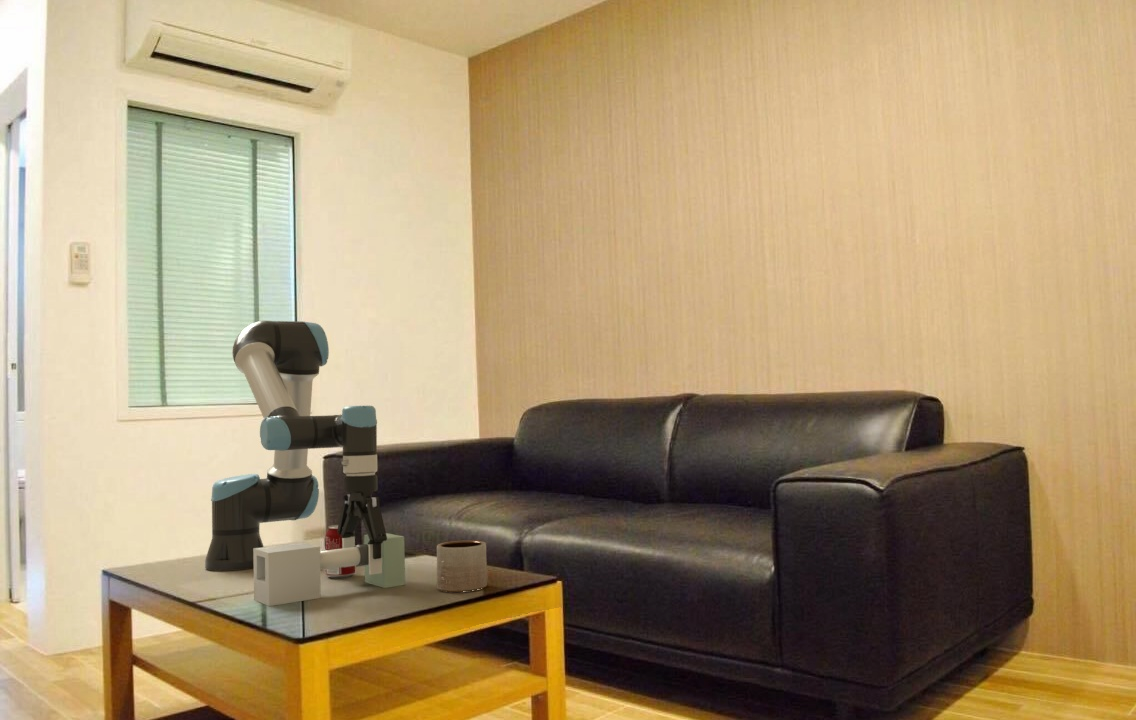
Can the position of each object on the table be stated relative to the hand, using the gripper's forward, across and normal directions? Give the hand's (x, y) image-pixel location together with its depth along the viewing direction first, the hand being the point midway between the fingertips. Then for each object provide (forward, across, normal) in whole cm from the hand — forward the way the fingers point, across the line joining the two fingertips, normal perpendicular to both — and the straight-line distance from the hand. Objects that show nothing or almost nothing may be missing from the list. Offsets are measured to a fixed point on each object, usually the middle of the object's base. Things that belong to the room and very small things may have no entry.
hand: (361, 570), depth 198 cm
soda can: (+4, -16, +2) cm, 17 cm away
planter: (+4, +18, +15) cm, 24 cm away
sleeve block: (+4, 0, -17) cm, 17 cm away
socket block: (+4, 0, +6) cm, 7 cm away
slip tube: (-1, 0, -4) cm, 4 cm away
